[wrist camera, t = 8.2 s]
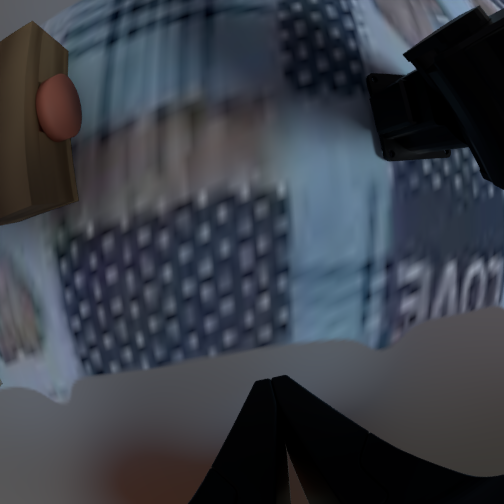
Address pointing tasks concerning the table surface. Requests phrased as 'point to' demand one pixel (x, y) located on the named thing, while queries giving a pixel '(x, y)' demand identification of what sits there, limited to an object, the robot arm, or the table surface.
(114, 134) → the table surface
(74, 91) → the pin
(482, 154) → the robot arm
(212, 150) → the table surface
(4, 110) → the block
